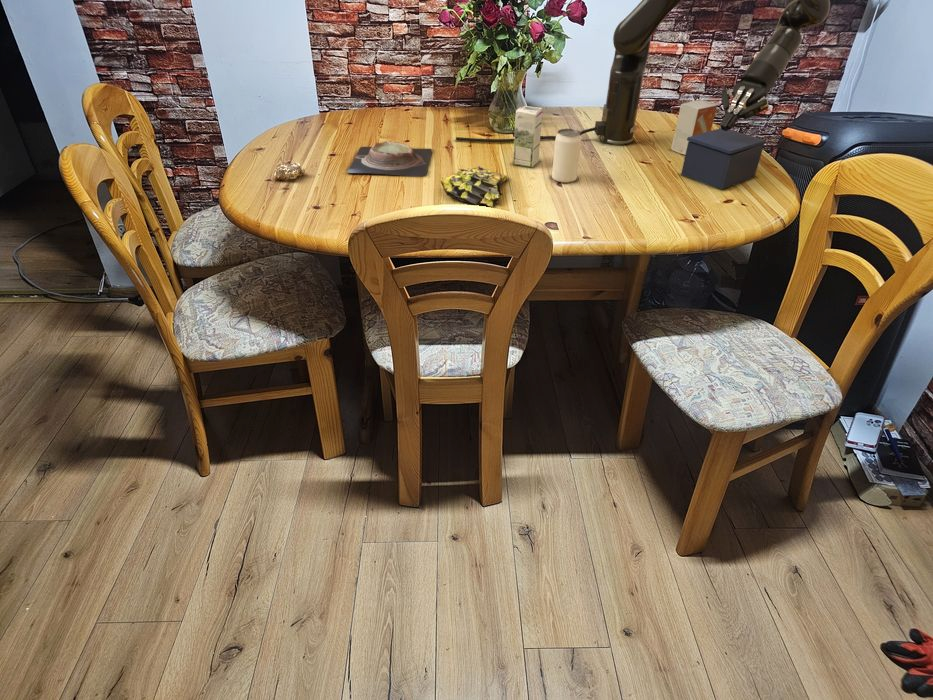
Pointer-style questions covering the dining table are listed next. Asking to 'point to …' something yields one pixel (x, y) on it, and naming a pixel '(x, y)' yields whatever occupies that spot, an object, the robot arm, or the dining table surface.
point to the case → (720, 165)
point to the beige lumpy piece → (288, 171)
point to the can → (566, 155)
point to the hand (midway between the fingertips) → (723, 128)
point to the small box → (692, 122)
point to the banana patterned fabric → (474, 186)
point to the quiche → (391, 160)
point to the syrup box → (527, 136)
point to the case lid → (726, 140)
